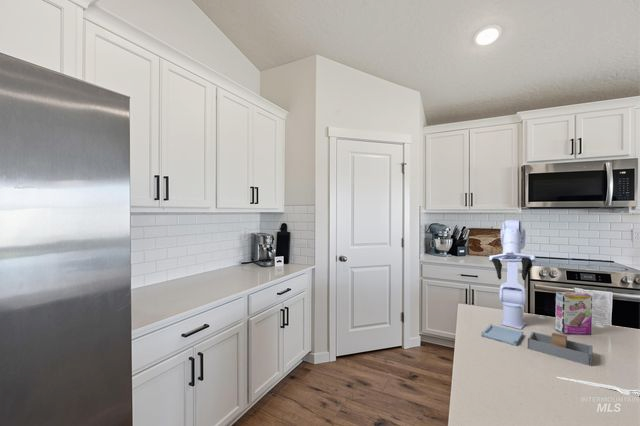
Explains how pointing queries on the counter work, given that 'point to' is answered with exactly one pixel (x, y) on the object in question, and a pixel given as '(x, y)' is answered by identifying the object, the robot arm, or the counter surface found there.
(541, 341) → the gray rectangular bin
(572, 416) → the counter surface
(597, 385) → the fork
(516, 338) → the light blue tray
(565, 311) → the candy bar box
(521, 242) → the robot arm
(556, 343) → the walnut block
